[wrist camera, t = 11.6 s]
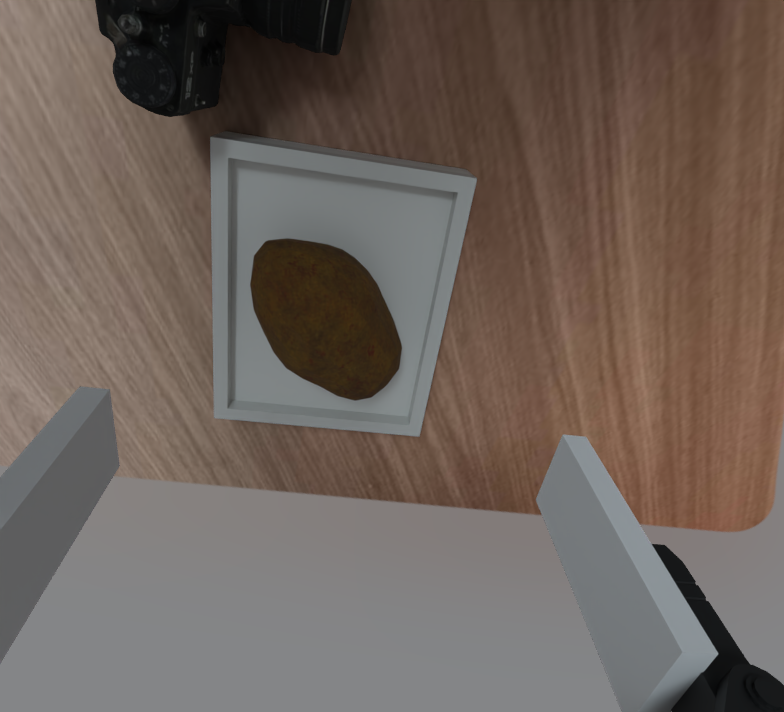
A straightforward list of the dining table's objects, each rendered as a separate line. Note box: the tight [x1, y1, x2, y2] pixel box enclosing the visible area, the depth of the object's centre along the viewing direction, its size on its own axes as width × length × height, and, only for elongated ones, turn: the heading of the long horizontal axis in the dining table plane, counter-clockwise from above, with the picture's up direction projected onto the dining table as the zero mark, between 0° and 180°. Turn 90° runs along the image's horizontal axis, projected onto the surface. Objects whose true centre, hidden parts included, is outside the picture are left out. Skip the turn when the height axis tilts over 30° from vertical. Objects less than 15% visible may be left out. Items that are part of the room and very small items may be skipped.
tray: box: [210, 131, 477, 437], centre depth 37 cm, size 20×16×4 cm
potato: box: [250, 238, 402, 401], centre depth 32 cm, size 8×12×8 cm, turn 42°
